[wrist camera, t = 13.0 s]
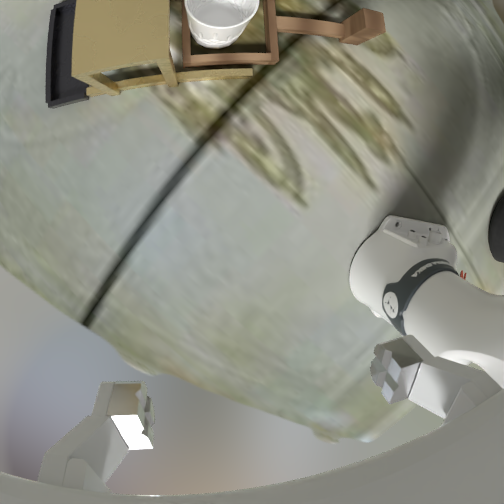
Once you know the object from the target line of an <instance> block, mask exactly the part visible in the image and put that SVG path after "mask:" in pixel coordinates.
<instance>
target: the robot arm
mask: <svg viewBox="0 0 504 504" xmlns="http://www.w3.org/2000/svg"><path fill="white" fill-rule="evenodd" d="M396 223H397V225H396V226H395V224H396ZM456 268H457V252H456V249H455V247H454V245H453V244H451V243H450V239H449V233H448V230H447V228H446V227H445V226H443V225H439V224H435V223H430V222H425V221H420V220H414V219H409V218H404V217H398V216H393V215H389V216H387V217H386V218H385V219H384V221H383V222H382V224H381V225H380V227H379V229H378V230H377V231H376V232H375V233H374V234H373V235H372V236H371V237H369V238H368V239H367V240H366V241H365V242H364V243H363V244H362V246H361V247H360V248H359V250H358V251H357V253H356V255H355V257H354V259H353V262H352V265H351V268H350V275H349V281H350V287H351V290H352V293H353V295H354V296H355V297H356V299H357V300H359V301H360V302H361V303H363V304H365V305H367V306H368V307H369V308H370V309H371V311H372V313H373V314H374V315H375V316H377V317H382V318H384V319H385V320H386V321H387V322H389V323H390V324H391V325H393V326H394V327H395V328H396V329H397V330H398V331H399V332H400V334H401V335H402V336H403V337H399V338H397V339H393V340H390V341H386V342H383V343H379V344H377V345H376V346H375V348H374V354H375V356H376V357H375V358H374V359H373V361H372V362H371V367H370V372H371V377H372V380H373V381H374V383H375V384H376V385H377V386H379V387H381V388H382V392H381V393H382V395H383V396H384V397H385V399H386V400H387V402H388V403H389V404H392V403H395V402H398V401H401V400H404V399H406V398H408V399H409V400H411V401H413V402H414V403H416V404H418V405H420V406H422V407H424V408H425V409H427V410H429V411H431V412H433V413H435V414H437V415H438V416H440V417H442V418H444V419H445V420H444V421H443V423H442V425H441V427H439V428H437V429H435V430H433V431H431V432H429V433H427V434H425V435H423V436H421V437H419V438H416V439H414V440H412V441H410V442H407V443H405V444H403V445H401V446H398V447H396V448H393V449H391V450H388V451H386V452H383V453H381V454H378V455H376V456H373V457H370V458H367V459H365V460H362V461H359V462H356V463H353V464H350V465H347V466H344V467H341V468H337V469H334V470H331V471H328V472H324V473H320V474H316V475H313V476H309V477H305V478H300V479H296V480H292V481H287V482H283V483H278V484H273V485H267V486H261V487H255V488H249V489H242V490H235V491H226V492H217V493H205V494H189V495H129V494H114V493H112V491H111V490H110V489H109V488H108V487H107V486H106V485H105V483H106V482H107V480H108V479H109V478H110V476H111V475H112V474H113V472H114V471H115V470H116V468H117V467H118V465H119V464H120V463H121V462H122V460H123V459H124V457H125V456H126V455H127V453H128V452H129V449H152V448H153V441H154V432H153V430H152V428H151V427H152V426H153V425H154V423H155V415H154V407H153V403H152V400H151V398H150V397H148V396H147V387H146V384H145V382H143V381H120V382H119V381H116V382H102V383H101V384H100V386H99V389H98V393H97V396H96V400H95V404H94V408H93V411H92V415H91V416H87V417H86V418H85V419H83V420H82V421H81V422H80V423H79V424H78V425H77V426H75V427H74V428H73V429H72V430H71V431H70V432H68V433H67V434H66V435H65V436H64V437H63V438H62V439H61V440H59V441H58V442H57V443H56V444H55V445H54V446H53V447H51V448H50V449H49V450H48V451H47V452H46V453H45V455H44V458H43V462H42V465H41V469H40V473H39V476H38V480H37V482H36V481H32V480H28V479H24V478H20V477H17V476H13V475H9V474H6V473H3V472H0V504H504V295H495V294H491V293H488V292H486V291H484V290H482V289H480V288H478V287H476V286H475V285H473V284H471V283H469V282H468V281H466V280H465V278H466V273H465V274H464V278H463V271H461V274H460V276H459V275H458V273H457V272H456ZM473 362H474V363H476V364H477V365H479V366H480V367H482V368H483V369H484V370H485V371H481V370H478V369H475V368H472V367H469V366H468V365H469V364H471V363H473Z"/></svg>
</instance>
